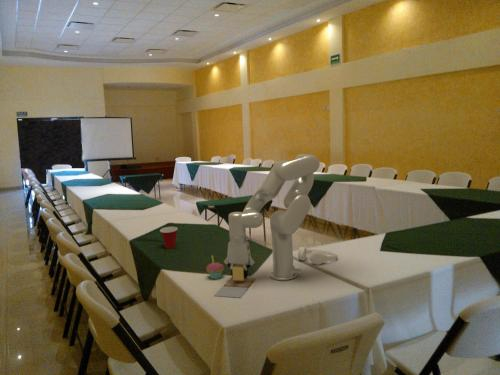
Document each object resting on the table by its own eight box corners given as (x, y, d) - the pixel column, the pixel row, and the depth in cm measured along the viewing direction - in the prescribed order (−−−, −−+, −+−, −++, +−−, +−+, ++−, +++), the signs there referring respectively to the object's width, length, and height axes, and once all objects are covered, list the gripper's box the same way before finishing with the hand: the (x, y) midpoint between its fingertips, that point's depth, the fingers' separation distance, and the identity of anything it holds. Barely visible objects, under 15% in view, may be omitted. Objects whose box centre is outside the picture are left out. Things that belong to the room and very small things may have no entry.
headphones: (318, 252, 209) (344, 250, 222) (292, 245, 223) (317, 244, 236) (317, 267, 209) (342, 263, 222) (291, 259, 223) (316, 256, 236)
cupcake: (219, 281, 197) (218, 256, 195) (203, 279, 200) (201, 255, 198) (227, 275, 205) (225, 251, 203) (211, 273, 208) (210, 250, 206)
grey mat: (248, 288, 186) (248, 287, 186) (240, 298, 176) (240, 297, 176) (222, 286, 190) (222, 286, 190) (213, 296, 179) (213, 295, 179)
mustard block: (246, 276, 195) (246, 264, 195) (243, 280, 191) (242, 268, 190) (236, 276, 197) (235, 263, 196) (233, 280, 192) (232, 267, 191)
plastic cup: (158, 249, 256) (156, 230, 254) (166, 244, 266) (165, 226, 264) (174, 250, 252) (172, 231, 251) (182, 245, 263) (180, 226, 261)
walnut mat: (255, 279, 197) (255, 278, 197) (248, 287, 187) (248, 287, 187) (231, 277, 201) (231, 276, 201) (223, 285, 191) (223, 285, 191)
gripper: (258, 237, 192) (259, 275, 195) (223, 236, 197) (225, 273, 200) (253, 241, 185) (255, 281, 188) (217, 240, 190) (219, 279, 193)
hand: (239, 277), depth 194 cm, fingers closed on mustard block, 5 cm apart
